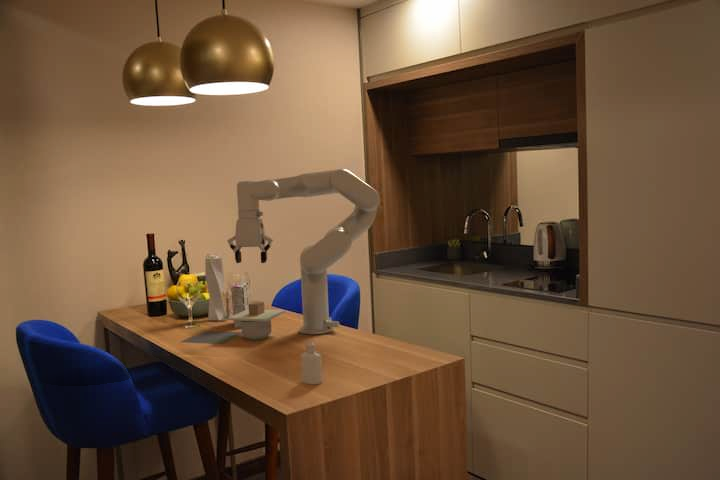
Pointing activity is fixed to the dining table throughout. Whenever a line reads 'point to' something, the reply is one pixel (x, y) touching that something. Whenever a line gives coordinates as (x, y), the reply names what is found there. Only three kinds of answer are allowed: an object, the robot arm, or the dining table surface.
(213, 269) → the skyscraper
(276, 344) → the dining table surface
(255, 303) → the lid
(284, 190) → the robot arm
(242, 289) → the candy bar box
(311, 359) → the eye dropper bottle
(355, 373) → the dining table surface
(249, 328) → the teacup
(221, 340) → the mat
